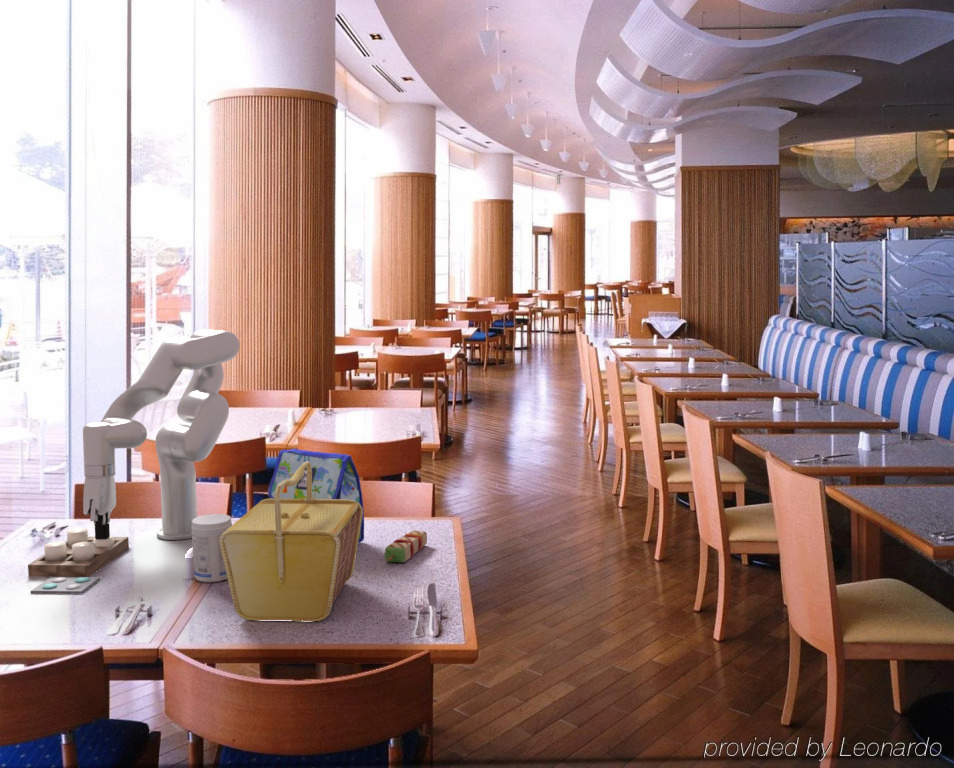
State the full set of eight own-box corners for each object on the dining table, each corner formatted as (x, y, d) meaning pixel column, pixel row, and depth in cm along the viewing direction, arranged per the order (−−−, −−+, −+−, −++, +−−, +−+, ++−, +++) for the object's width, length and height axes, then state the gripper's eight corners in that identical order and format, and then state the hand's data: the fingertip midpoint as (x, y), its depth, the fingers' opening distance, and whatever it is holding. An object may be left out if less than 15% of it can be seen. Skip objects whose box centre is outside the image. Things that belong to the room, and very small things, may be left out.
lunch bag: (265, 549, 246) (262, 453, 243) (299, 532, 262) (297, 443, 258) (337, 558, 238) (335, 460, 235) (368, 541, 253) (366, 448, 250)
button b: (91, 542, 244) (90, 528, 243) (83, 547, 239) (82, 533, 238) (73, 542, 244) (72, 528, 243) (64, 547, 239) (63, 533, 238)
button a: (117, 549, 244) (117, 535, 243) (109, 555, 239) (109, 541, 238) (99, 549, 244) (98, 535, 243) (90, 555, 239) (90, 540, 238)
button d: (70, 556, 232) (69, 541, 231) (61, 562, 227) (60, 547, 226) (51, 556, 232) (50, 541, 231) (41, 562, 227) (40, 547, 226)
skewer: (408, 544, 251) (408, 526, 250) (430, 546, 249) (430, 529, 248) (376, 567, 231) (376, 548, 231) (400, 570, 229) (399, 550, 229)
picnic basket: (259, 579, 222) (256, 458, 219) (365, 581, 221) (363, 459, 217) (219, 625, 193) (214, 486, 190) (340, 628, 192) (337, 488, 188)
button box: (128, 547, 247) (128, 536, 247) (89, 577, 223) (88, 565, 223) (74, 547, 247) (73, 536, 247) (28, 576, 224) (27, 564, 223)
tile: (100, 579, 222) (100, 575, 222) (81, 593, 212) (81, 590, 212) (51, 578, 222) (51, 575, 222) (30, 593, 212) (30, 589, 212)
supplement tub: (230, 568, 230) (228, 511, 228) (238, 580, 221) (236, 521, 220) (190, 574, 226) (188, 516, 224) (196, 586, 217) (194, 525, 215)
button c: (97, 556, 231) (97, 541, 231) (88, 562, 226) (88, 547, 226) (78, 556, 232) (77, 541, 231) (69, 562, 227) (68, 547, 226)
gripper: (98, 464, 246) (100, 530, 248) (72, 475, 231) (75, 546, 233) (125, 464, 246) (128, 531, 248) (101, 476, 231) (104, 547, 233)
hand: (102, 538), depth 240 cm, fingers closed
